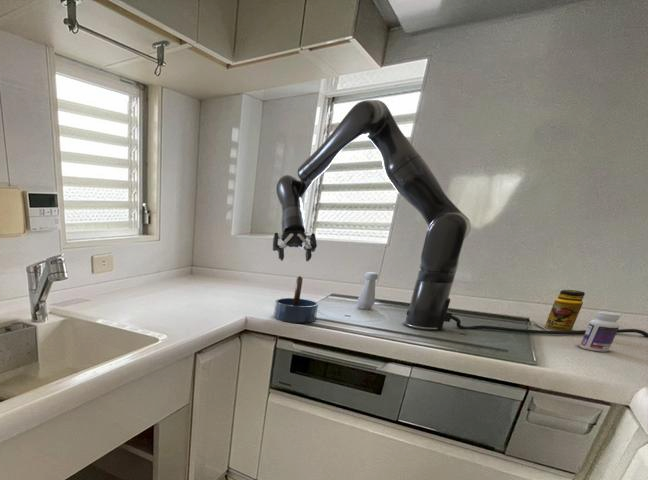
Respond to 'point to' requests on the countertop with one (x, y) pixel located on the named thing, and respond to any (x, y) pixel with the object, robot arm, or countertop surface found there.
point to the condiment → (564, 311)
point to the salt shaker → (368, 291)
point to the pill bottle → (601, 332)
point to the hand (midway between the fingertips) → (295, 259)
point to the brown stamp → (297, 291)
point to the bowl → (295, 310)
